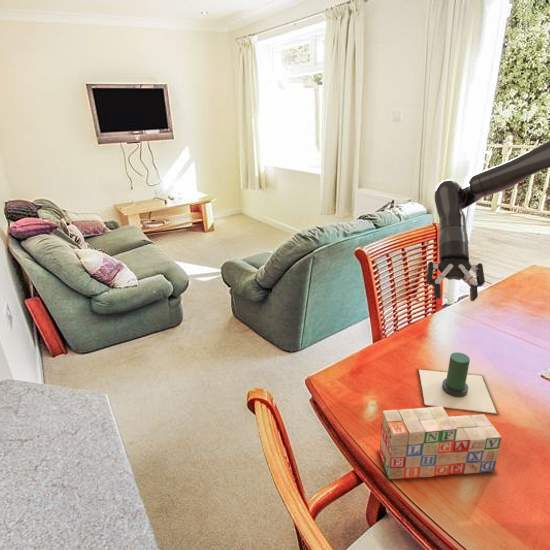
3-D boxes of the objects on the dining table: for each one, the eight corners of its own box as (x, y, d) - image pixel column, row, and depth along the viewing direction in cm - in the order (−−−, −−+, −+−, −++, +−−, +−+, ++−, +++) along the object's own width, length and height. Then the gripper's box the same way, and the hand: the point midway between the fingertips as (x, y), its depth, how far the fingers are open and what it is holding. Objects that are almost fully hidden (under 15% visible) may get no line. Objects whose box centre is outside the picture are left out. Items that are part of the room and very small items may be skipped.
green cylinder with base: (464, 383, 99) (470, 351, 95) (469, 398, 93) (476, 366, 89) (440, 380, 100) (445, 349, 96) (444, 395, 95) (449, 363, 91)
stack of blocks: (477, 447, 80) (487, 402, 76) (494, 472, 75) (506, 425, 70) (378, 453, 80) (382, 409, 75) (388, 480, 74) (392, 433, 70)
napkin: (481, 376, 101) (481, 375, 101) (496, 413, 89) (496, 413, 89) (418, 370, 105) (418, 369, 105) (424, 405, 92) (424, 404, 92)
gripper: (477, 251, 108) (480, 305, 102) (424, 250, 111) (425, 302, 105) (485, 239, 101) (489, 296, 95) (428, 238, 104) (429, 293, 99)
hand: (455, 299), depth 100 cm, fingers open, 8 cm apart
